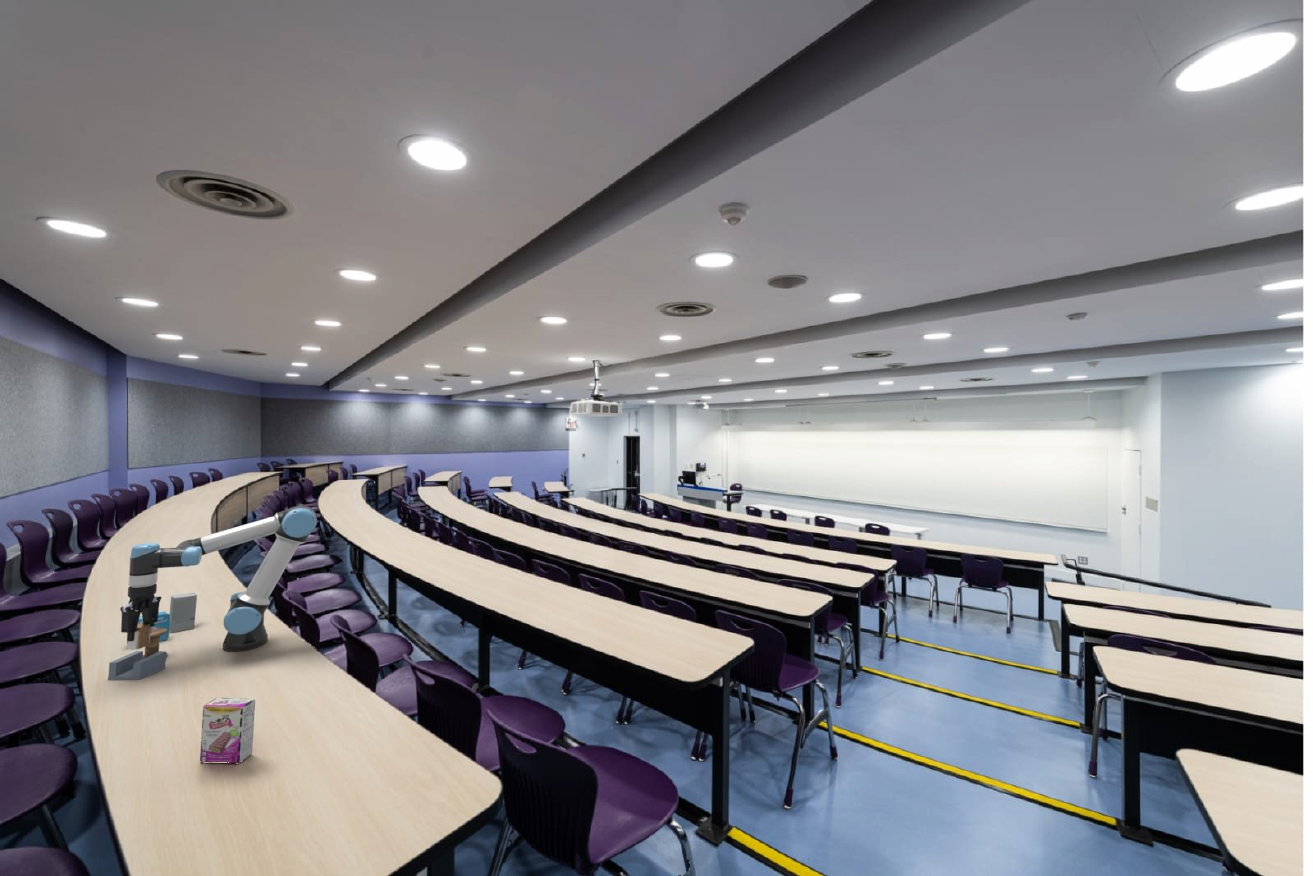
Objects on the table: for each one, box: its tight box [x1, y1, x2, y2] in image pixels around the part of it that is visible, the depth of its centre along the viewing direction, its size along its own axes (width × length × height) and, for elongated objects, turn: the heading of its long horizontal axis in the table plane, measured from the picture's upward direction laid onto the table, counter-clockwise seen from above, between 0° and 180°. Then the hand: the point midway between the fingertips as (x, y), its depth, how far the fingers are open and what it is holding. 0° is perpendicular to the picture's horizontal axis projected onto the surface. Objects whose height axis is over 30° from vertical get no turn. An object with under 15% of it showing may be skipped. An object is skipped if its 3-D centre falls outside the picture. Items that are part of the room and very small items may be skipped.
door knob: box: [143, 628, 168, 659], centre depth 195 cm, size 9×9×11 cm
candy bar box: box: [199, 697, 256, 765], centre depth 138 cm, size 11×5×16 cm, turn 92°
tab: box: [126, 624, 150, 650], centre depth 183 cm, size 4×4×8 cm
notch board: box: [107, 650, 167, 681], centre depth 183 cm, size 11×10×6 cm
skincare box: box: [168, 592, 198, 634], centre depth 225 cm, size 8×7×16 cm
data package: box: [138, 611, 170, 643], centre depth 209 cm, size 12×4×12 cm, turn 150°
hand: (138, 646), depth 183 cm, fingers closed on tab, 4 cm apart
